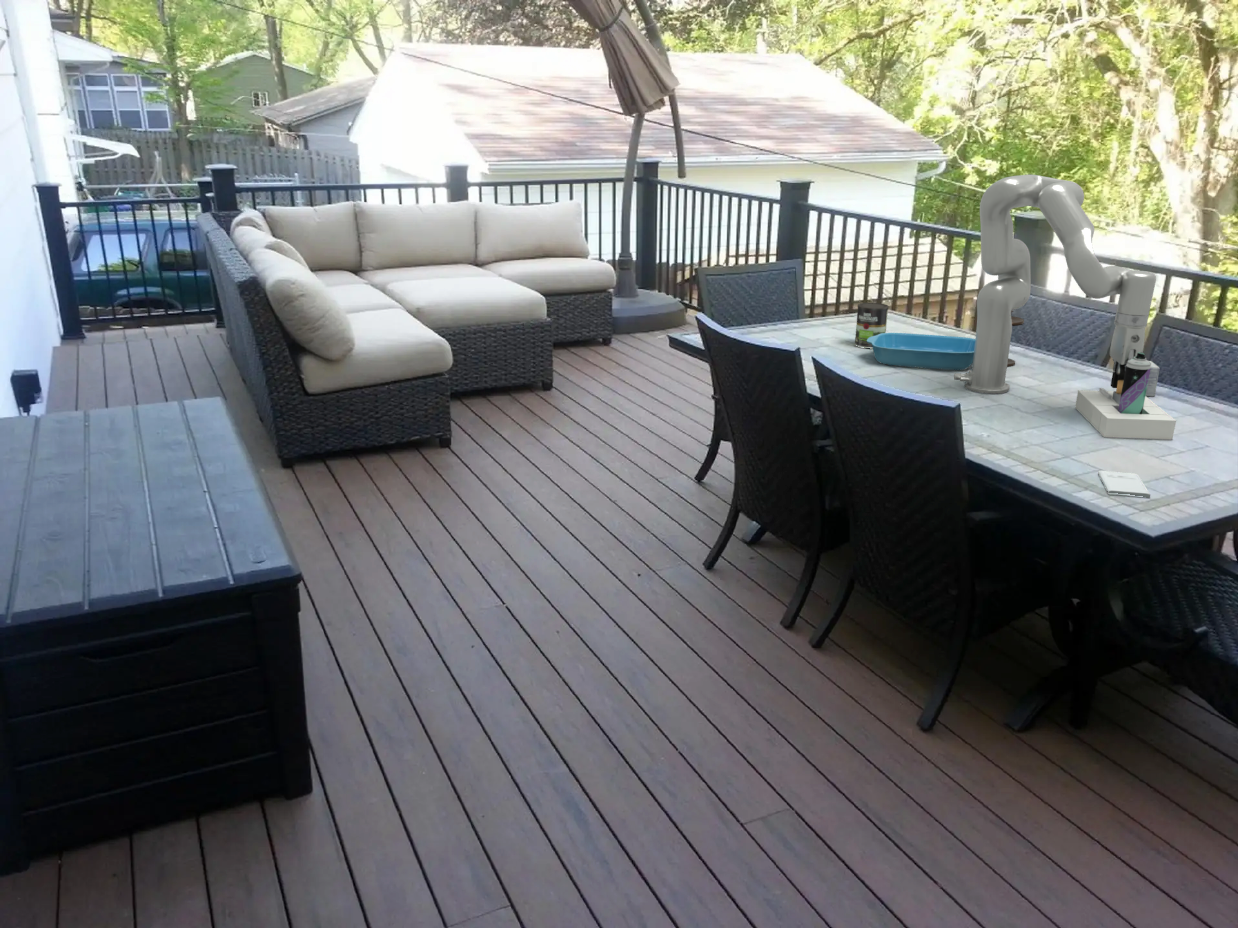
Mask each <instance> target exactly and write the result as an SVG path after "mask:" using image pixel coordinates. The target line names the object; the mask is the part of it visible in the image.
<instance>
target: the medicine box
mask: <svg viewBox="0 0 1238 928" xmlns="http://www.w3.org/2000/svg"><path fill="white" fill-rule="evenodd" d="M1147 361H1148V362H1150V363H1151V365H1150V366H1151V370H1150V375H1149V380H1148V385H1147V390H1146V395H1145V396H1146V397H1147V398H1149V397H1150V398H1155V397H1156V391H1157V385H1158V380H1159V374H1160V367H1159V366H1158V365H1157V364H1156V363H1154V362H1153V361H1151V360H1147Z"/></svg>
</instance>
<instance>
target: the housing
mask: <svg viewBox="0 0 1238 928" xmlns="http://www.w3.org/2000/svg"><path fill="white" fill-rule="evenodd" d="M1098 389H1099V390H1080V389H1079V390H1077V395H1076V400H1075V407H1074V408H1075V409H1076V411H1078V413H1080V414H1081V415H1082V416H1083V418H1084V419H1086V420H1087V421H1088V422H1089V424H1091V426H1093V428H1095V430H1097V432H1099V434H1100V435H1101V436H1103V438H1110V439H1111V438H1114V439H1115V438H1117V439H1145V440H1170V441H1172V440H1173V438H1174V433H1175V429H1176V428H1175V427H1176V423H1177V420H1176V419H1175V418H1174V417H1172V416H1171V415H1170V414H1168V413H1167V412H1166V410H1164V409H1163V408H1161V407H1160V406H1159V405H1157V404H1156V403H1154V402H1153V401H1152V399H1150V398H1149V397H1146V396H1145V401H1144V406H1143V411H1142V414H1121V413H1120V412H1118V408H1119V404H1118V403H1117V402H1116V401H1115V400H1113V399H1112V398H1113V392H1114V390H1111V391H1110V390H1106V389H1105V388H1104V387H1099V388H1098Z"/></svg>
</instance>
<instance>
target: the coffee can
mask: <svg viewBox="0 0 1238 928" xmlns="http://www.w3.org/2000/svg"><path fill="white" fill-rule="evenodd" d="M889 308H890V307H889V305H888V304H885V303H880V302H862V303H858V304H857V313H856V314H857V315H856V326H855V337H854V338H855V339H854V346H855V345H857V346H859V347H864V348H870V349H869V350H873V346H872V344H869V343H867V339H868V338H869V337H872V336H876V335H878V334H881V333H887V332H886V331H887V325H888V324H887V323H888V312H889ZM859 347H858V348H859ZM864 348H863V349H864Z"/></svg>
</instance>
